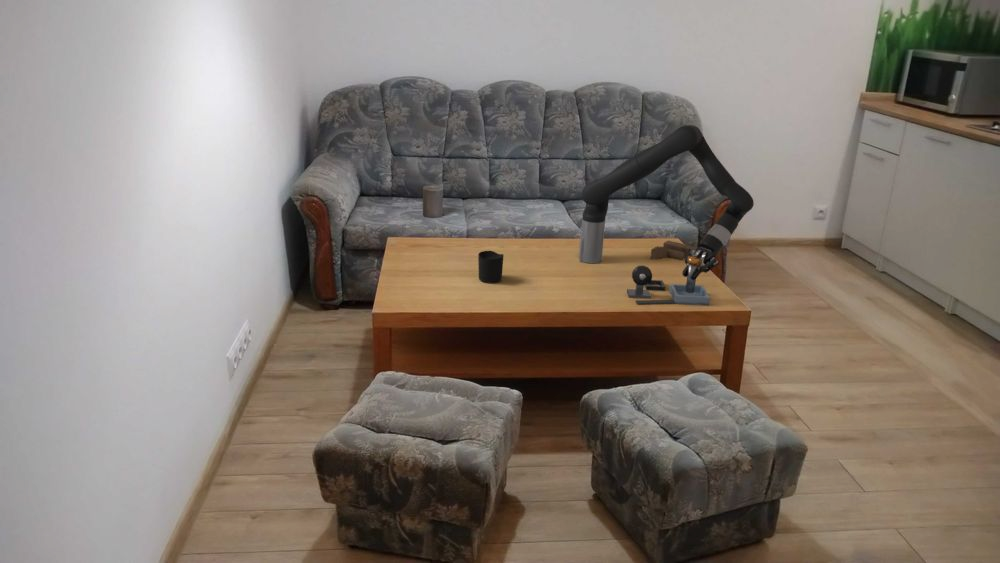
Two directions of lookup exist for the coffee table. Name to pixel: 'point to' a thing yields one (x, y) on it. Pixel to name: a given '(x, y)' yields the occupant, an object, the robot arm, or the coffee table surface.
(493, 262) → the pen holder
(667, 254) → the wooden block set
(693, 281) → the pin
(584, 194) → the robot arm
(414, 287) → the coffee table surface
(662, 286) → the frame
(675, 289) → the tray
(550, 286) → the coffee table surface
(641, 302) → the strip
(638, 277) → the pulley stand
